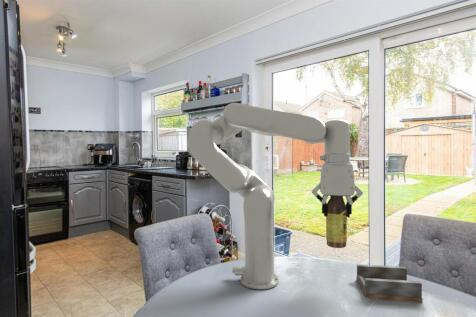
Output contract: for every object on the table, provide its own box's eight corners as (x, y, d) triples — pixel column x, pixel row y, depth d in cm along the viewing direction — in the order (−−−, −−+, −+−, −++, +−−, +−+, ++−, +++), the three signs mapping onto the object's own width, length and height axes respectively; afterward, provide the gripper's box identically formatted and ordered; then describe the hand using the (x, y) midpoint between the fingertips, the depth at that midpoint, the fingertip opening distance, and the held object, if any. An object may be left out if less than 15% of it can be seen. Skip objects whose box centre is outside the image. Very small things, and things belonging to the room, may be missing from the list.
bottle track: (366, 298, 89) (366, 280, 89) (356, 279, 103) (356, 263, 103) (422, 302, 86) (422, 284, 86) (404, 282, 100) (404, 266, 100)
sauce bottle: (348, 249, 93) (348, 184, 93) (326, 248, 94) (327, 184, 94) (345, 243, 100) (345, 182, 99) (325, 242, 101) (325, 182, 101)
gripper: (309, 159, 94) (309, 217, 95) (368, 159, 91) (368, 219, 92) (308, 159, 102) (308, 213, 102) (363, 159, 99) (362, 214, 99)
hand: (336, 215), depth 97 cm, fingers closed on sauce bottle, 6 cm apart
